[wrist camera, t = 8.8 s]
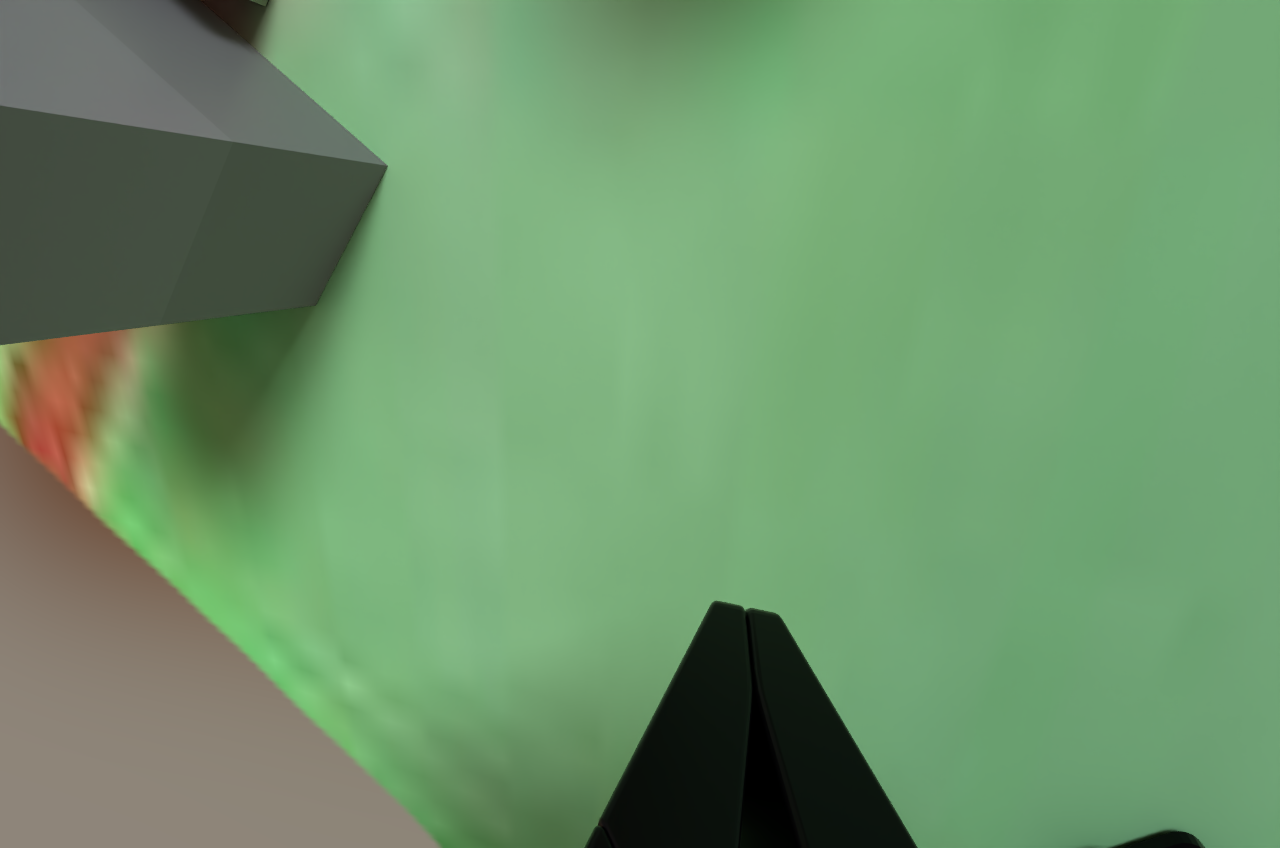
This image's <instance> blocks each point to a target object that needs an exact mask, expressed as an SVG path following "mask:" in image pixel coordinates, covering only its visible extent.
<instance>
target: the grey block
mask: <svg viewBox="0 0 1280 848" xmlns="http://www.w3.org/2000/svg"><path fill="white" fill-rule="evenodd" d="M386 168H387V165H386V164H385V163H384V162H383V161H382V160H381V159H380V158H378V157H377V156H376V155H375V154H374V153H373V152H372V151H370V150H369V149H368V148H367V147H366V146H365V145H364V144H363V143H361V142H360V141H359V140H358V139H357V138H356V137H355V136H353V135H352V134H351V133H350V132H349V131H348V130H347V129H345V128H344V127H343V126H342V125H341V124H340V123H339V122H338V121H336V120H335V119H334V118H333V117H332V116H331V115H330V114H328V113H327V112H326V111H325V110H324V109H323V108H322V107H321V106H319V105H318V104H317V103H316V102H315V101H314V100H313V99H311V98H310V97H309V96H308V95H307V94H306V93H305V92H303V91H302V90H301V89H300V88H299V87H298V86H297V85H296V84H294V83H293V82H292V81H291V80H290V79H289V78H288V77H286V76H285V75H284V74H283V73H282V72H281V71H280V70H279V69H277V68H276V67H275V66H274V65H273V64H272V63H271V62H269V61H268V60H267V59H266V58H265V57H264V56H263V55H262V54H260V53H259V52H258V51H257V50H256V49H255V48H254V47H252V46H251V45H250V44H249V43H248V42H247V41H246V40H244V39H243V38H242V37H241V36H240V35H239V34H238V33H237V32H235V31H234V30H233V29H232V28H231V27H230V26H229V25H227V24H226V23H225V22H224V21H223V20H222V19H221V18H220V17H218V16H217V15H216V14H215V13H214V12H213V11H212V10H210V9H209V8H208V7H207V6H206V5H205V4H204V3H202V2H201V1H200V0H0V345H5V344H13V343H21V342H29V341H37V340H45V339H53V338H61V337H68V336H76V335H84V334H92V333H100V332H108V331H116V330H124V329H132V328H140V327H148V326H156V325H164V324H172V323H180V322H188V321H196V320H204V319H212V318H220V317H228V316H236V315H244V314H252V313H260V312H268V311H276V310H284V309H292V308H300V307H308V306H316V304H317V302H318V300H319V298H320V296H321V294H322V292H323V290H324V288H325V286H326V284H327V282H328V281H329V279H330V277H331V275H332V273H333V271H334V269H335V267H336V265H337V263H338V261H339V259H340V257H341V255H342V253H343V252H344V250H345V248H346V246H347V244H348V242H349V240H350V238H351V236H352V234H353V232H354V230H355V228H356V226H357V224H358V223H359V221H360V219H361V217H362V215H363V213H364V211H365V209H366V207H367V205H368V203H369V201H370V199H371V197H372V195H373V193H374V192H375V190H376V188H377V186H378V184H379V182H380V180H381V178H382V176H383V174H384V172H385V170H386Z"/></svg>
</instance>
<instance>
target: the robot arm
mask: <svg viewBox="0 0 1280 848" xmlns="http://www.w3.org/2000/svg"><path fill="white" fill-rule="evenodd" d="M584 848H917V846H916V844H915V843H914V841H913V839H912V837H911V836H910V834H909V832H908V831H907V829H906V827H905V826H904V824H903V822H902V821H901V819H900V817H899V816H898V814H897V812H896V810H895V809H894V807H893V805H892V804H891V802H890V800H889V799H888V797H887V795H886V794H885V792H884V790H883V789H882V787H881V785H880V783H879V782H878V780H877V778H876V777H875V775H874V773H873V772H872V770H871V768H870V767H869V765H868V763H867V762H866V760H865V758H864V756H863V755H862V753H861V751H860V750H859V748H858V746H857V745H856V743H855V741H854V740H853V738H852V736H851V735H850V733H849V731H848V729H847V728H846V726H845V724H844V723H843V721H842V719H841V718H840V716H839V714H838V713H837V711H836V709H835V708H834V706H833V704H832V702H831V701H830V699H829V697H828V696H827V694H826V692H825V691H824V689H823V687H822V686H821V684H820V682H819V680H818V679H817V677H816V675H815V674H814V672H813V670H812V669H811V667H810V665H809V664H808V662H807V660H806V659H805V657H804V655H803V653H802V652H801V650H800V648H799V647H798V645H797V643H796V642H795V640H794V638H793V637H792V635H791V633H790V632H789V630H788V628H787V626H786V625H785V623H784V621H783V620H782V618H781V617H780V616H779V615H778V614H776V613H773V612H768V611H764V610H759V609H754V608H749V609H746V611H745V610H744V608H743V607H742V606H740V605H735V604H730V603H726V602H721V601H714V602H713V603H712V604H711V605H710V607H709V609H708V611H707V613H706V615H705V617H704V619H703V621H702V622H701V624H700V626H699V628H698V630H697V632H696V634H695V636H694V638H693V640H692V642H691V644H690V646H689V648H688V649H687V651H686V653H685V655H684V657H683V659H682V661H681V663H680V665H679V667H678V669H677V671H676V673H675V675H674V677H673V678H672V680H671V682H670V684H669V686H668V688H667V690H666V692H665V694H664V696H663V698H662V700H661V702H660V704H659V705H658V707H657V709H656V711H655V713H654V715H653V717H652V719H651V721H650V723H649V725H648V727H647V729H646V731H645V733H644V734H643V736H642V738H641V740H640V742H639V744H638V746H637V748H636V750H635V752H634V754H633V756H632V758H631V760H630V761H629V763H628V765H627V767H626V769H625V771H624V773H623V775H622V777H621V779H620V781H619V783H618V785H617V787H616V788H615V790H614V792H613V794H612V796H611V798H610V800H609V802H608V804H607V806H606V808H605V810H604V812H603V814H602V816H601V817H600V819H599V823H598V826H596V827H595V828H594V830H593V832H592V834H591V836H590V838H589V840H588V842H587V844H586V845H585V847H584ZM1124 848H1205V847H1204V846H1203V844H1202V843H1201V842H1200V841H1199V840H1198V839H1197V838H1196V837H1195V836H1194V835H1191V834H1189V833H1187V832H1179V831H1178V832H1171V833H1168V834H1165V835H1162V836H1159V837H1155V838H1152V839H1149V840H1146V841H1143V842H1140V843H1137V844H1134V845H1131V846H1127V847H1124Z"/></svg>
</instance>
